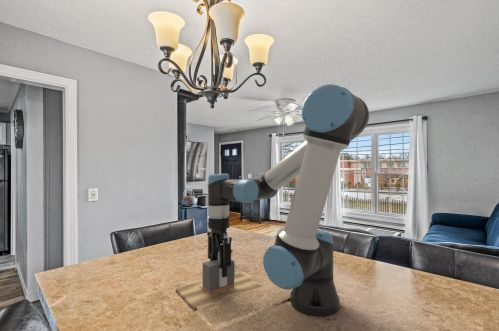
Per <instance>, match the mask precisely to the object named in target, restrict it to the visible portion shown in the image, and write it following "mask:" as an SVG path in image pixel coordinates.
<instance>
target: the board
mask: <svg viewBox="0 0 499 331" xmlns="http://www.w3.org/2000/svg"><path fill="white" fill-rule="evenodd" d="M260 287H263V285H261V284H259V283H258V282H256V281H255V280H253V279H251V278H249V277H248V276H246V275H245V274H242V273H241V272H239V271H237V272H234V287H231V288H228V289H224V290H221V291H218V292H215V293H211V294H209V293H207V292H206V291H205V290H203V280H202V281H199V282H193V283H192V284H191V283H190V284H188V285H182V286H179V287H176V288H175V292H176V293H177V294H178V295H179V296H180V298H182V299H183V301H184V302H185V303H186V304H187V305H188V306H189V307H190V308H191V310H193V311H198V308H197V307H201V306H203V305H206V304H210V303H213V302H216V301H220V300H223V299H225V298H228V297H231V296H235V295H238V294H242V293H244V292H247V291H250V290H254V289H257V288H260Z"/></svg>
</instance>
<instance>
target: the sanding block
mask: <svg viewBox="0 0 499 331" xmlns="http://www.w3.org/2000/svg"><path fill="white" fill-rule="evenodd" d="M220 266H221V265H220V259H217V260H213V261H210V260H209V261H205V262H202V281H203V290H205V291H206V292H207V293H209V294H211V293H215V292H218V291H221V290H224V289H228V288H231V287H234V273H235V260H234V259H231V266H229V267H227V285H226V286H223V287H219V267H220Z"/></svg>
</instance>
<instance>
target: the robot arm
mask: <svg viewBox="0 0 499 331" xmlns="http://www.w3.org/2000/svg"><path fill="white" fill-rule="evenodd" d="M301 118H302V120H303V123H304V125H305V128H304V131H303V133H302V134H303V135H302V136H303V138H304V141H303V142H302V143H301V144H299V145H298V146H297V147H296V148H294V149H293V150H292V151H290V153H289V154H287V155H286V156H285V157H284V158H283V159H281V160H280V161H279V162H277V163H276V164H275V165H274V166H272V167H271V168H270V169H269V170H268V171H266V172H265V173H264V174H263V175H262V176H260V177H259V178H238V179H237V178H234V179H230V175H229V174H228V173H211V174H209V175H208V178H207V179H208V180H207V181H208V182H207V202H208V204H207V216H208V219H207V221H208V222H207V227H208V229H209V230H210V231H207V232H206V234H207V259H208V260H209V261H213V260H217V259H218V254H219V257H220V265H221V266H220V267H219V287H223V286H226V285H227V267H229V266H231V260H232V254H231V249H232V241H233V239H232V238H233V237H231V236H230V237H228V232H227V229H229V228H230V217H229V216H230V202H236V203H241V204H245V203H250V204H251V203H253V202H255V201H257V200H269V199H271V198H274V197H276V196H277V194H278V192H279V190H280V189H282V188H283V187H284V186H286V185H287V184H288V183H290V182H291V181H292V180H294V179H295V178H296V177H297V181H296V184H295V188H294V192H293V195H292V198H291V203H290V206H289V210H288V214H287V218H286V222H285V223H284V224H285V225H284V226H283V227H282V228H280V229H278V231H277V234H276V238H275V241H274V245H271V246H269V247H268V248H267V249H266V250H265V252H264V254H263V259H262V265H263V268H264V269H263V270H264V272H265V273H266V276H267V277H268V279H269V280H270V281H271V282H272V284H273V285H275V286H276V287H278V288H279V289H281V290H286V291H288V290H291V291H290V297H289V298H290V305H291V306H292V307H293V308H294V309H295V310H297V311H298V312H300V313H303V314H306V315H311V316H317V317H324V316H325V317H326V316H331V315H334V314H336V313H337V312H338V311H339V310H340V308H341V306H340V297H339V295H338V291H337V289H336V285H335V282H334V239H333V235H332V234H331V233H330V232H329V231H325V230H324V231H323V230H318V229H319V226H320V222H321V220H322V216H323V212H324V210H325V205H326V202H327V199H328V195H329V192H330V188H331V186H332V182H333V178H334V175H335V171H336V167H337V164H338V161H339V159H340V158H339V157H340V154H341V152H342V151H344V150H345V149H347V148H348V147H349V146H350V143H351V142H352V141H353V140H354V139H356V138H357V137H358V136H360V134H361V133H363V132H364V130H365V129H366V127H367V125H368V123H369V121H370V120H369V119H370V111H369V107H368V105H367V104H366V102H365V101H364V100H363V99H362V98H360V97H358V96H356V95H355V94H353V93H352V92H351V91H350V90H349V89H347V88H346V87H344V86H340V85H337V84H332V83H331V84H323V85H321V86H318V87H317V88H315V89H314V90H313V91H311V92H310V93H309V94H308V95H307V97H306V98H305V99H304V102H303V103H302V107H301Z"/></svg>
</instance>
